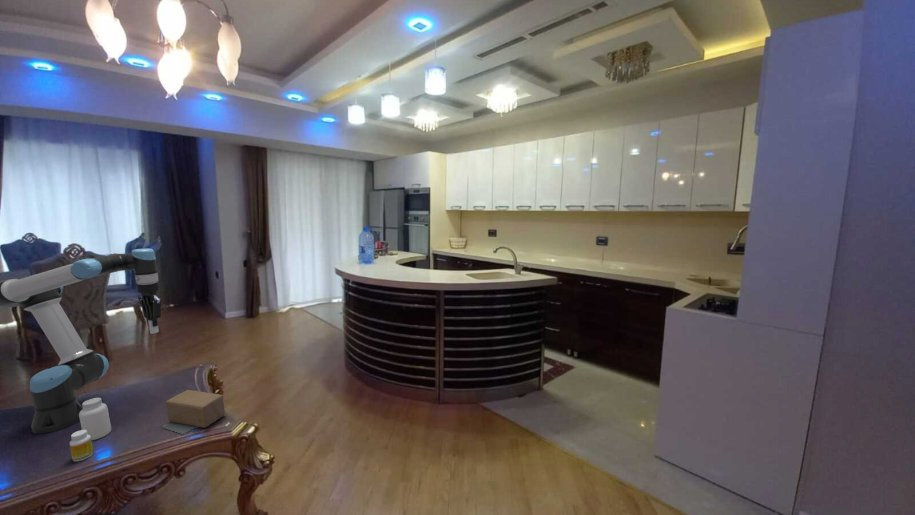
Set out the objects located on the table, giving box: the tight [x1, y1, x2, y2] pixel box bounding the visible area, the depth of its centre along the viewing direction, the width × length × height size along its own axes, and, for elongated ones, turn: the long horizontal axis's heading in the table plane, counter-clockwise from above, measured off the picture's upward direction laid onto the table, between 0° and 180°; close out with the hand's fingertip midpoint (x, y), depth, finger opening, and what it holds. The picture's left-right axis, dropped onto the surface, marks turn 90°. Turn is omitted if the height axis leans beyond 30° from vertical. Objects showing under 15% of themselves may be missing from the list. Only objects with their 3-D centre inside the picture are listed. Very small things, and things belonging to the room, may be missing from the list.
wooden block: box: [165, 389, 226, 429], centre depth 150 cm, size 10×10×20 cm
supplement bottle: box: [69, 429, 94, 462], centre depth 128 cm, size 5×5×10 cm
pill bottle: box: [79, 397, 112, 441], centre depth 140 cm, size 8×8×15 cm
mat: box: [160, 421, 198, 436], centre depth 150 cm, size 14×14×1 cm
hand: (154, 332), depth 159 cm, fingers closed
